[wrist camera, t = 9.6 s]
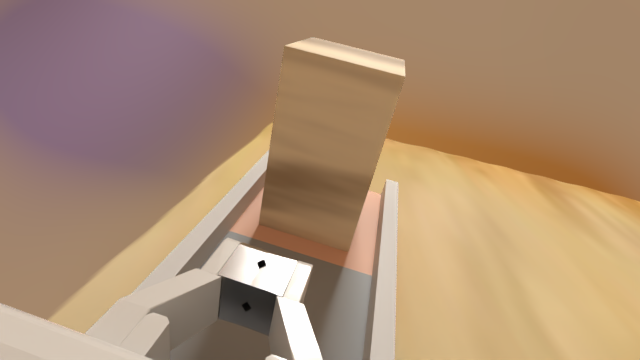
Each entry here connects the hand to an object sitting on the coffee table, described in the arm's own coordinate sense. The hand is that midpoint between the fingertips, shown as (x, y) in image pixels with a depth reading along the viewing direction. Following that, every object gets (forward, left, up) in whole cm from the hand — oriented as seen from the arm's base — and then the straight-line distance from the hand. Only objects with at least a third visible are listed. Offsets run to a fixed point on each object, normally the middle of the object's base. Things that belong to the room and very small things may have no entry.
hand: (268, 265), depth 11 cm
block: (-9, -7, -5) cm, 13 cm away
